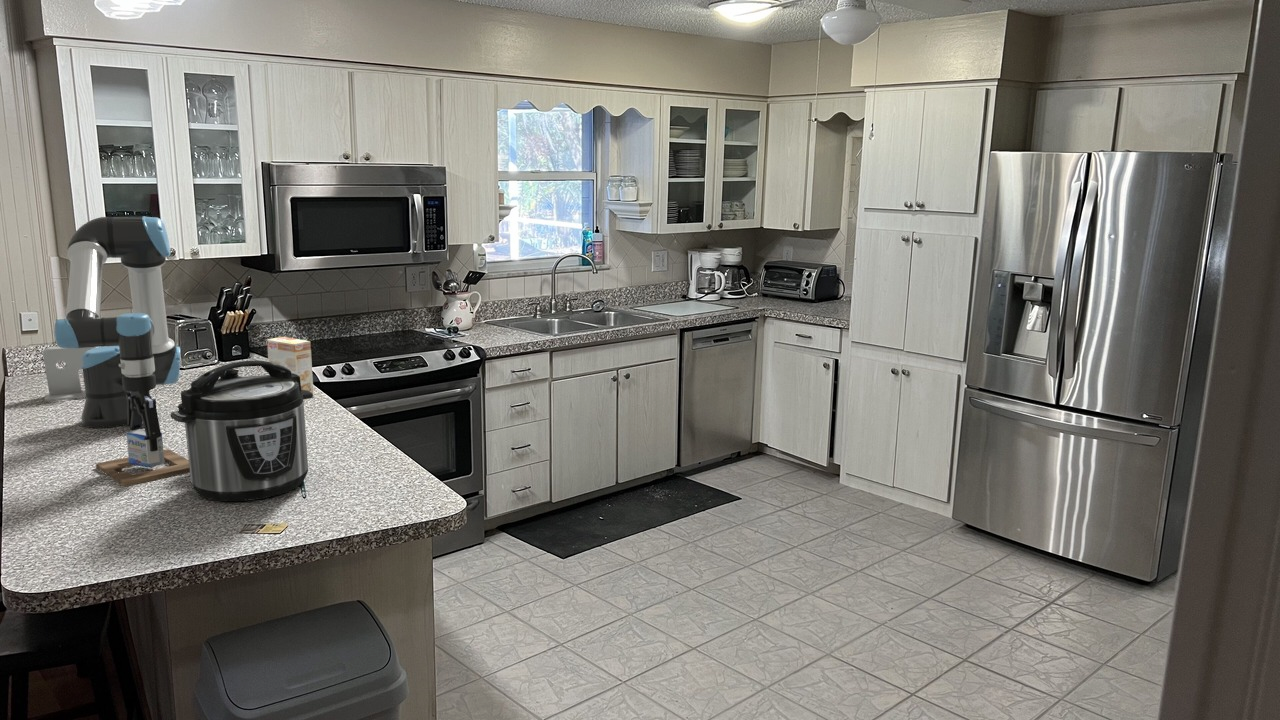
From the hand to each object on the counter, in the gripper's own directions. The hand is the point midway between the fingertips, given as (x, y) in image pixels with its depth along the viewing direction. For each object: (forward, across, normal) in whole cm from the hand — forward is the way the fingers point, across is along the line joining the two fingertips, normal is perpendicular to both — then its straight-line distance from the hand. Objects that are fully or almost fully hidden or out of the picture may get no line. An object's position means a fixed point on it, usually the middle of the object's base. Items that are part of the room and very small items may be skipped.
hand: (146, 458), depth 236 cm
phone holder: (+3, -98, +12) cm, 99 cm away
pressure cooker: (+3, +32, +13) cm, 35 cm away
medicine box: (+2, 0, 0) cm, 2 cm away
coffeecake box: (+3, -49, +65) cm, 81 cm away
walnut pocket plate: (+3, 0, 0) cm, 3 cm away
